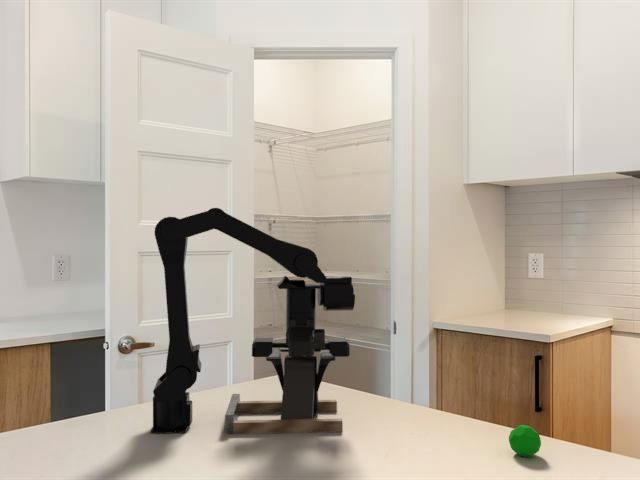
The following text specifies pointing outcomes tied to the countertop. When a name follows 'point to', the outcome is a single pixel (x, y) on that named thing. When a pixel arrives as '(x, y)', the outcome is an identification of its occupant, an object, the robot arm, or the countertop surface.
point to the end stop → (232, 412)
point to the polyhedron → (524, 441)
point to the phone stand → (300, 388)
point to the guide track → (284, 424)
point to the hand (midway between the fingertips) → (300, 391)
